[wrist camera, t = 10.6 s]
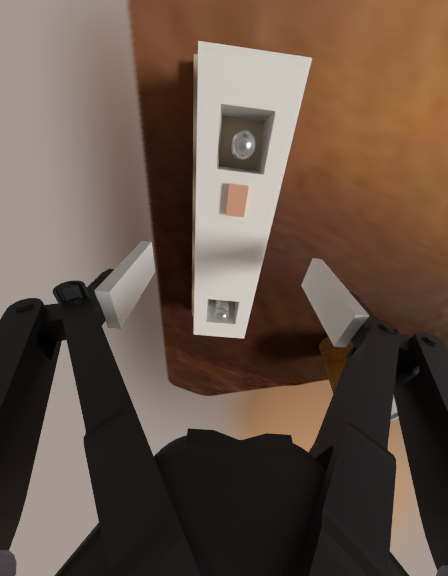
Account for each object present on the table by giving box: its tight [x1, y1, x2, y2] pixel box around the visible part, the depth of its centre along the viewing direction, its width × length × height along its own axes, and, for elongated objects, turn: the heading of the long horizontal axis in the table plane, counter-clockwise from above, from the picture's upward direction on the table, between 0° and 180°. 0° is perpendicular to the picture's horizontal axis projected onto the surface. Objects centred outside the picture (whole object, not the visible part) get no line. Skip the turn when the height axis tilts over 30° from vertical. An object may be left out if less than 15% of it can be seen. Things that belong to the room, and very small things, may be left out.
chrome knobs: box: [215, 130, 256, 321], centre depth 21 cm, size 19×2×7 cm, turn 174°
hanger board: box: [192, 54, 264, 315], centre depth 24 cm, size 28×9×2 cm, turn 174°
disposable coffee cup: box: [319, 336, 399, 421], centre depth 32 cm, size 10×10×12 cm
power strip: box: [194, 41, 312, 338], centre depth 21 cm, size 26×7×6 cm, turn 174°
